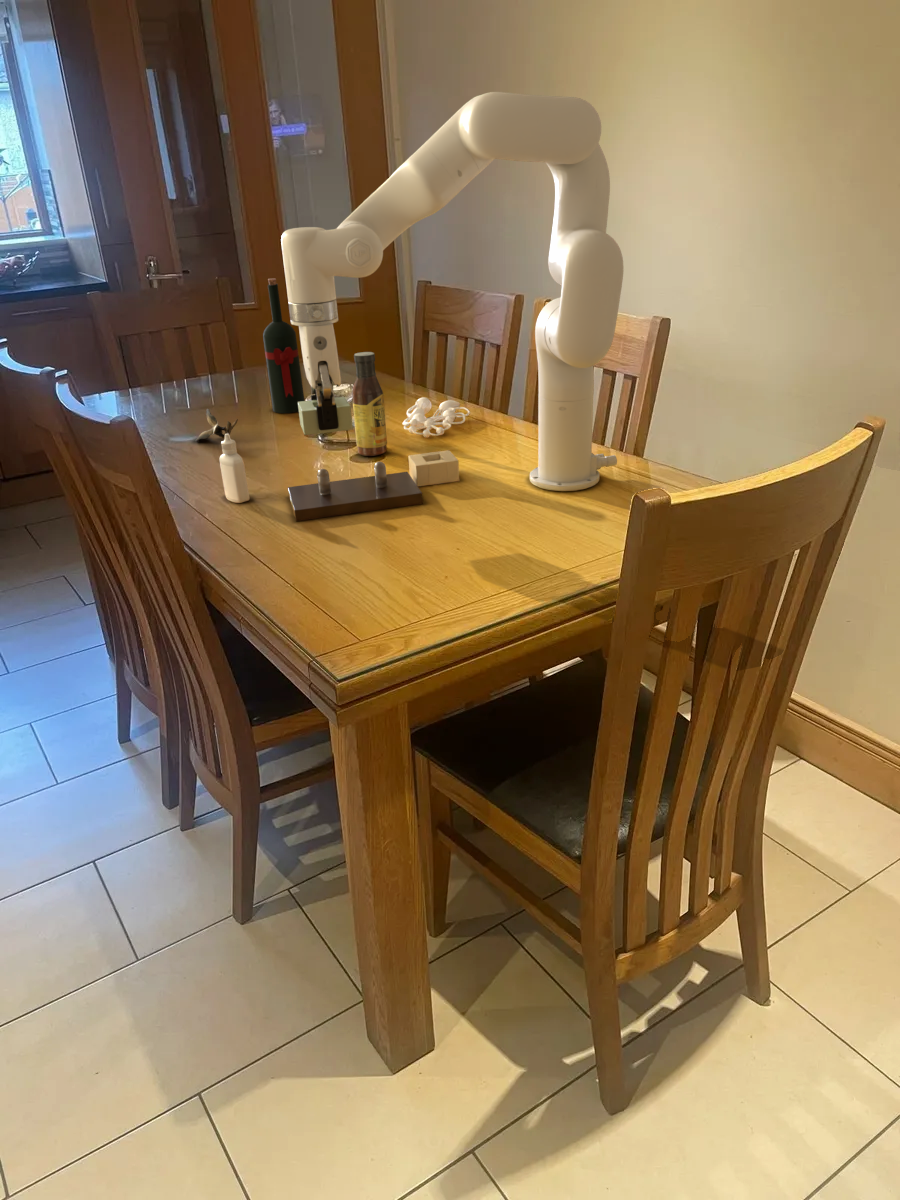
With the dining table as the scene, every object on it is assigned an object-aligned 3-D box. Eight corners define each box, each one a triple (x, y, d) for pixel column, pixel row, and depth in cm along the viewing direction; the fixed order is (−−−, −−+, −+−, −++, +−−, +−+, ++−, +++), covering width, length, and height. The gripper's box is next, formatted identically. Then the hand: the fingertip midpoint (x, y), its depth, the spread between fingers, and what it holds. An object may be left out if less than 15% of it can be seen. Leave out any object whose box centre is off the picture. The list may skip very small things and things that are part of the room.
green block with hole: (346, 419, 149) (344, 396, 147) (352, 429, 143) (350, 405, 141) (300, 424, 147) (297, 401, 145) (304, 435, 141) (301, 411, 139)
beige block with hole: (450, 470, 165) (449, 450, 163) (459, 481, 159) (458, 460, 157) (409, 475, 163) (408, 455, 161) (417, 486, 157) (415, 465, 155)
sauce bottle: (383, 457, 173) (374, 357, 164) (353, 457, 174) (343, 357, 165) (391, 447, 179) (383, 350, 170) (362, 447, 180) (353, 350, 171)
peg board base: (408, 481, 160) (405, 447, 157) (422, 503, 150) (420, 468, 147) (289, 497, 155) (284, 463, 152) (296, 521, 145) (291, 484, 142)
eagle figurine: (244, 430, 191) (211, 420, 194) (233, 409, 184) (199, 399, 187) (226, 457, 188) (193, 446, 191) (214, 436, 182) (180, 425, 184)
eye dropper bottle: (225, 505, 153) (213, 439, 148) (225, 494, 158) (214, 431, 153) (249, 502, 154) (239, 437, 148) (250, 492, 159) (239, 428, 153)
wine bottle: (275, 417, 204) (256, 283, 190) (271, 406, 213) (253, 278, 199) (308, 413, 206) (292, 280, 192) (303, 403, 214) (287, 275, 201)
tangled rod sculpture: (455, 445, 182) (456, 426, 180) (389, 438, 185) (389, 419, 183) (474, 417, 198) (474, 399, 196) (413, 410, 201) (413, 393, 199)
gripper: (345, 319, 130) (356, 434, 138) (329, 302, 145) (340, 408, 153) (295, 323, 128) (309, 440, 136) (284, 306, 143) (298, 412, 151)
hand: (325, 422), depth 145 cm, fingers closed on green block with hole, 6 cm apart
